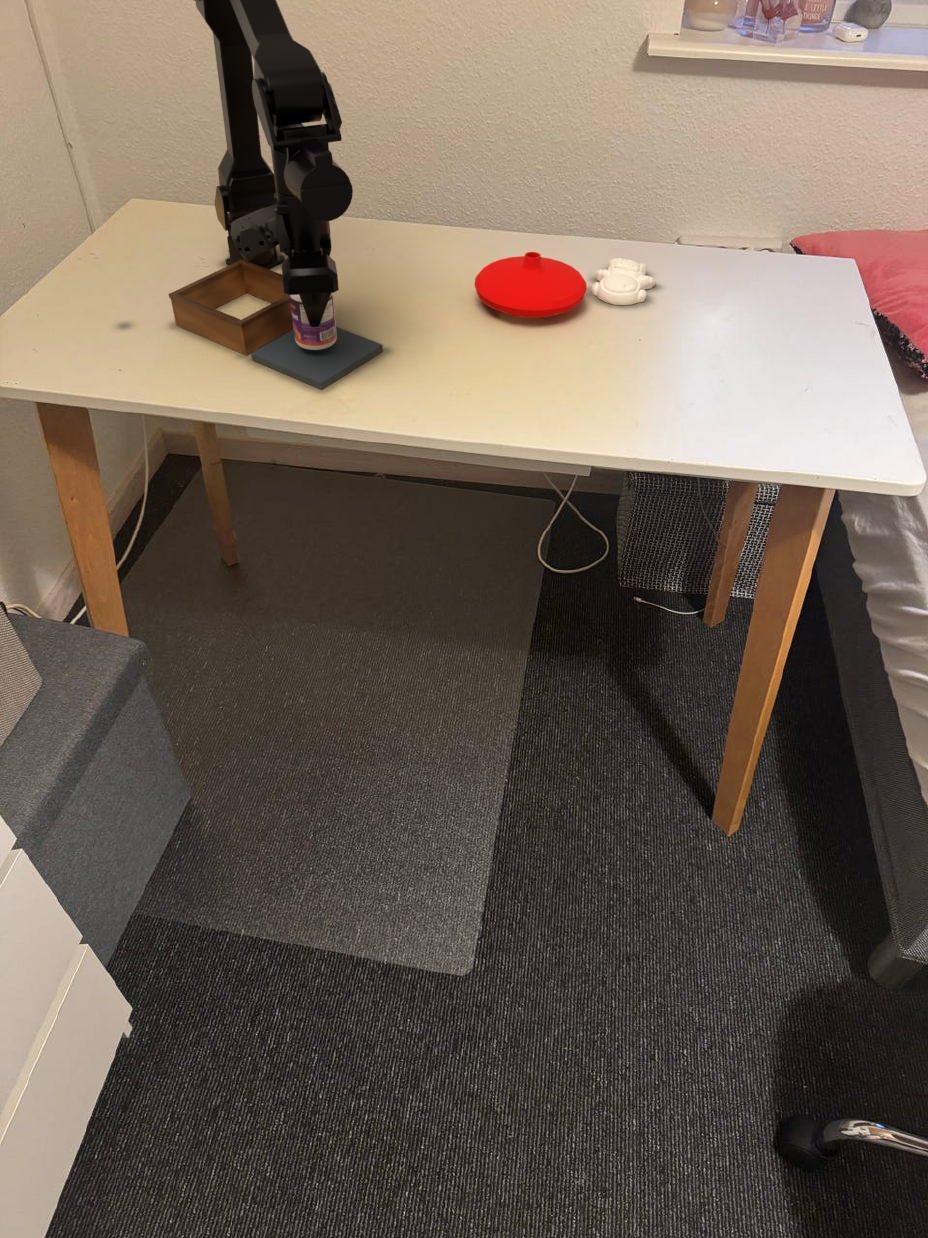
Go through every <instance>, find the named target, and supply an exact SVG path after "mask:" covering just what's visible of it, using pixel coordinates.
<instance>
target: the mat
mask: <svg viewBox="0 0 928 1238" xmlns="http://www.w3.org/2000/svg"><path fill="white" fill-rule="evenodd" d="M336 333H337V339H336V342H335V343H334V344H333V345H332V346H330V347H328V348H325V349H321V350H308V349H304V348H302V347H300V346H299V345H298V344H297V343H296V341H295V336H294V329H292V330H290V331H289V332H287V333H285V334H283V335H282V336H280V337H278V338H276V339H274V340H273V341H271V342H269V343H267V344H265V345H264V346H262V347H260V348H258V349H256V350H255V351H253V352H251V353H250V355H251V361H253V362H256V363H258V364H260V365H263V366H264V367H267V368H270V369H272V370H275V371H277V372H279V373H281V374H284V375H286V376H289V377H291V378H292V379H293V378H294V379H296V380H298V381H300V382H303V383H305V384H307V385H309V386H312V387H314V388H316V389H318V390H321V391H322V390H324V389H326V388H327V387H329V386H330V385H332V384H333V383H335V382H337V381H339V380H340V379H341V378H343V377H345V376H346V375H347V374H349V373H351V372H352V371H355V370H356V369H357V368H359V367H360V366H362V365H364V364H365V363H367V362H368V361H370V360H372V359H373V358H375V357H376V356H378V355H379V354H381V353H383V352H384V347H383V344H382V343H380V342H377V341H375V340H372V339H369V338H366V337H364V336H361V335H359V334H356V333H354V332H351V331H349V330H346V329H344V328H341V327H338V326H336Z"/></svg>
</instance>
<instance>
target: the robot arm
mask: <svg viewBox="0 0 928 1238" xmlns="http://www.w3.org/2000/svg"><path fill="white" fill-rule="evenodd" d="M193 1H195V7H196V10H198V12H199V14H200V15H201V16H202V18H203V20H204V21H205V24H207V26H208V28H209V29H210V30H211V32H212V36H213V37H212V39H213V46H214V54H215V61H216V62H215V63H216V70H217V77H218V85H219V86H218V87H219V94H220V103H221V110H222V117H223V126H224V133H225V141H226V150H225V153H224V155H223V157H222V159H221V161H220V163H219V165H218V168H217V171H218V172H217V173H218V184H219V185H217V186H216V188H215V197H214V208H215V213H216V217H217V221H218V222H219V224H220V225H221V226H222V228H223V229H224V232H226V231H227V235H228V236H227V237H226V241H227V247H228V254H229V257H227V258H226V259H225V260H224V262H225V264H226V265H228V266H229V265H231V264H233V263H235V262H237V261H239V260H244V261H247V262H250V263H252V264H255V265H258V266H261V267H263V268H266V269H270V268H273V267H274V266H277V265H278V264H281V263H282V264H281V274H282V279H283V287H284V293H285V294H288V295H299V296H300V298H301V301H302V304H303V307H304V310H305V313H306V315H307V318H308V321H309V324H310V326H311V327H318V326H319V325H320V323H321V320H322V317H323V314H324V312H325V309H326V306H327V304H328V301H329V298H330V296H331V293H333V294H334V293H336V292H338V291H339V288H340V287H339V277H338V269H337V264H336V261H335V260H334V259H333V258H332V257H330V256H331V252H332V239H331V225H330V222H331V221H334V220H337V219H338V218H340V217H341V216H342V215H344V214H345V213H346V212H347V210H348V209H349V207H350V206H351V203H352V200H353V191H354V189H353V185H352V182H351V179H350V177H349V176H348V174H347V173H346V172H345V171H344V169H342V167H341V166H340V164H339V165H338V163H337V162H336V161H335V160H334V159H333V153H332V151H331V150H330V148H329V147H330V146H329V144H330V143H336V142H342V141H343V140H342V133H341V127H342V124H343V120H342V117H341V114H340V113H341V112H340V110H339V107H338V105H337V101H336V100H337V99H336V97H335V94H334V90H333V87H332V85H331V83H330V82H329V81H328V78H327V75H326V73H325V72H324V71H322V70H321V67H320V66H319V64H318V62H317V61H316V59H315V57H314V54H313V53H312V52H311V50H310V49H309V48H307V47H305V46H304V45H302V44H301V43H299V42H297V41H295V40H294V38H293V36H292V34H291V33H290V30H289V27H288V25H287V22H286V20H285V18H284V16H283V13H282V11H281V8H280V7H279V4H278V2H277V0H193ZM323 118H324V121H325V123H320V124H312V125H304V124H309V123H315V122H321V120H322V119H323ZM259 122H260V126H261V129H262V131H263V134H264V137H265V139H266V142H267V145H268V146H269V148H270V152H271V153H270V154H271V162H272V169H271V167H270V165H269V164H268V162H267V160H266V159H265V158H264V156H263V154H262V147H261V146H262V145H261V138H260V137H261V135H260V126H259ZM277 247H278V249H279V252H280V253H283V254H284V255H285V256H286V257H287V258H285V256H284V255H281V254H279V253H278V251H277Z"/></svg>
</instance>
